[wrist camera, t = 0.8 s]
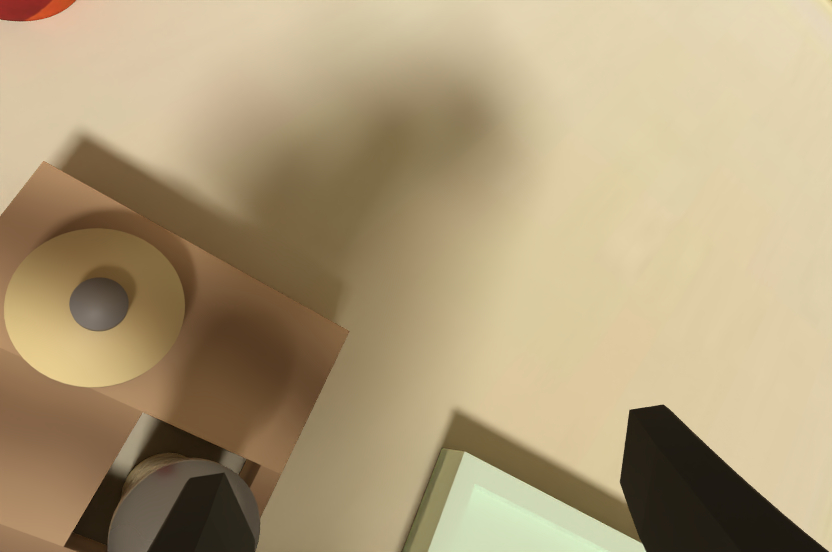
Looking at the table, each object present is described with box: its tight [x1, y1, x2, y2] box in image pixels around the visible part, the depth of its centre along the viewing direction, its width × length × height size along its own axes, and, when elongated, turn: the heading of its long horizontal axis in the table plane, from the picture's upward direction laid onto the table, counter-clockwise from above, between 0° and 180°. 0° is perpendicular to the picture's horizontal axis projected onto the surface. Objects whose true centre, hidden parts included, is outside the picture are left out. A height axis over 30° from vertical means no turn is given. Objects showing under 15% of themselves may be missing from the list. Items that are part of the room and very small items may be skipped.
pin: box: [108, 453, 260, 552], centre depth 19 cm, size 4×4×8 cm
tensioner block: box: [0, 161, 349, 552], centre depth 20 cm, size 14×12×4 cm
